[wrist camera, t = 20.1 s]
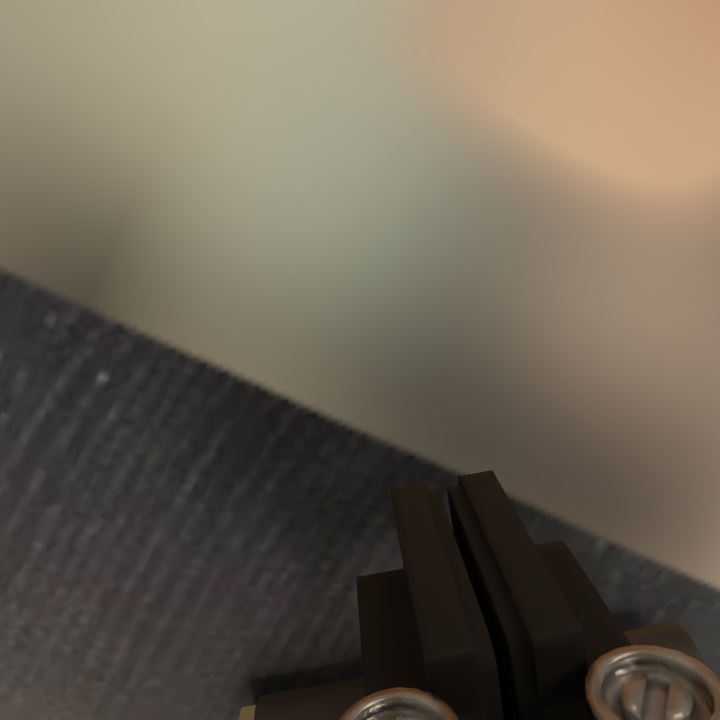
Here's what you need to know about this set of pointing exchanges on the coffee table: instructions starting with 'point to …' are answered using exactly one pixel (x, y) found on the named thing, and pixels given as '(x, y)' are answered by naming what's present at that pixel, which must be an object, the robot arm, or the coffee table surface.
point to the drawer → (330, 701)
